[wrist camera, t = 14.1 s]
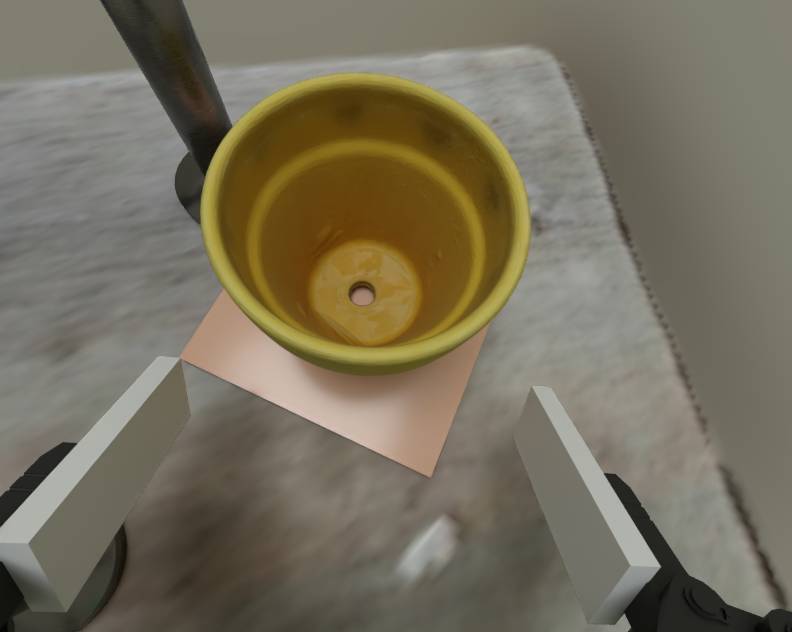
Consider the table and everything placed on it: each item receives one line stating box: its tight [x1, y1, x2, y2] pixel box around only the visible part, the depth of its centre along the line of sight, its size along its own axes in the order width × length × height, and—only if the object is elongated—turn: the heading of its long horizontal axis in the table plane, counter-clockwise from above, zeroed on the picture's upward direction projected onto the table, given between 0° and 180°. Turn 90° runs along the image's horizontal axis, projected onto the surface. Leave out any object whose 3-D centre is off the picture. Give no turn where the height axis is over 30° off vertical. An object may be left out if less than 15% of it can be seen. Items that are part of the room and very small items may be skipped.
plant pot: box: [200, 73, 531, 376], centre depth 16 cm, size 10×10×10 cm
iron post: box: [100, 0, 233, 225], centre depth 15 cm, size 6×6×17 cm
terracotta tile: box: [179, 286, 491, 478], centre depth 21 cm, size 14×14×1 cm
